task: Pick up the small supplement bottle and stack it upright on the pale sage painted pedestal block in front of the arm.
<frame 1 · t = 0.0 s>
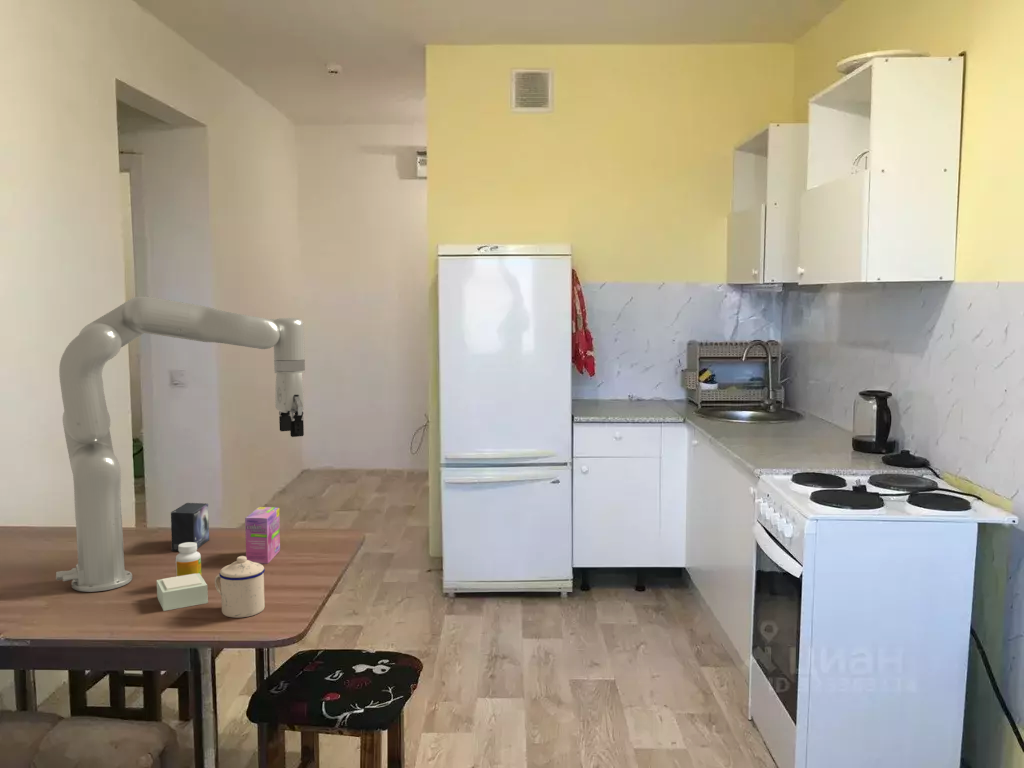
hand: (291, 433, 212), 31 cm above the table, fingers open, 9 cm apart
supplement bottle: (189, 586, 191), on the table
teacup with lid: (238, 610, 176), on the table
pedestal: (182, 600, 181), on the table
small box: (191, 546, 221), on the table
box: (263, 558, 211), on the table
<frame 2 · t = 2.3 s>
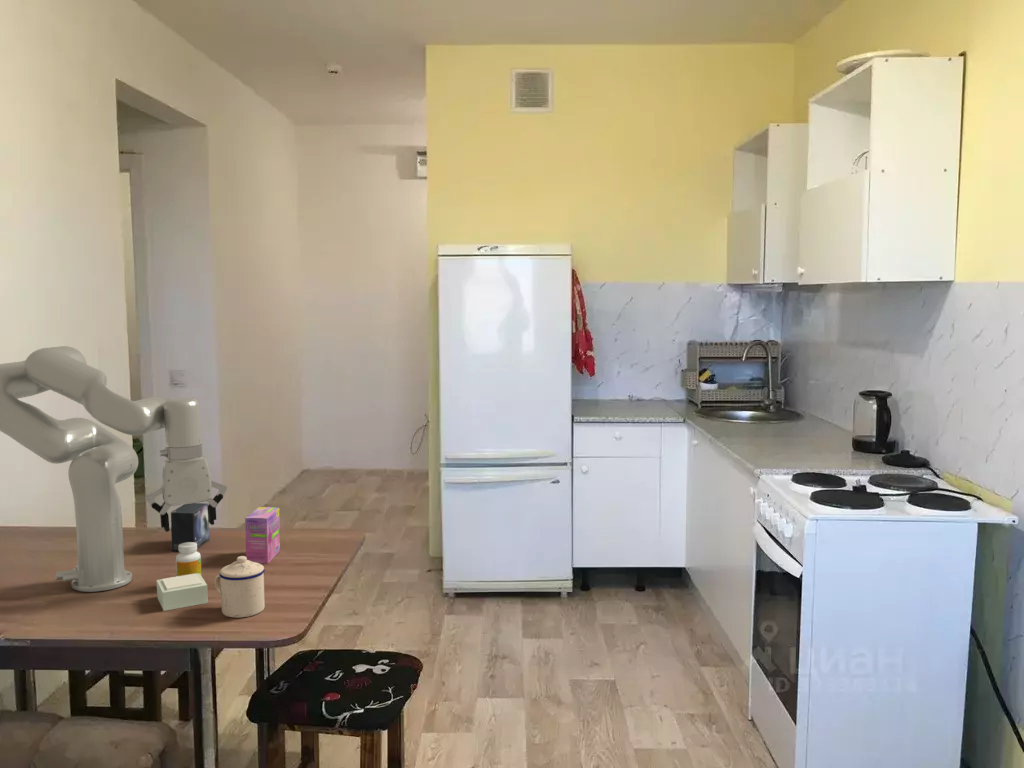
hand: (189, 526, 189), 14 cm above the table, fingers open, 9 cm apart
nothing on the table moved.
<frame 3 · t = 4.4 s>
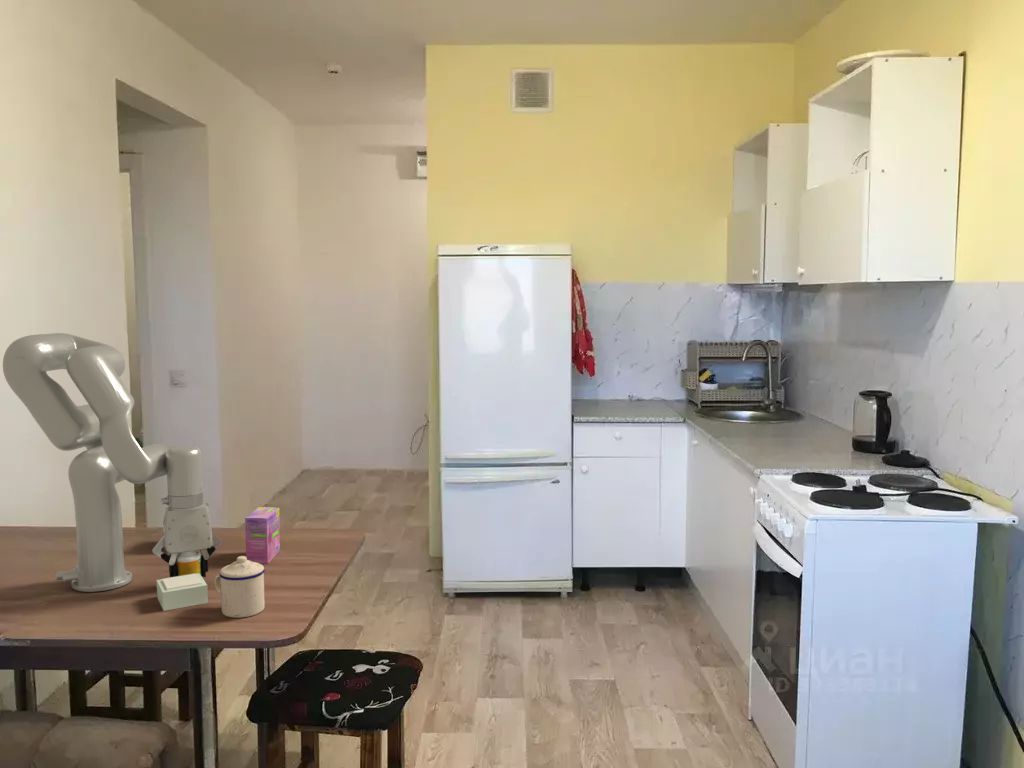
hand: (189, 577, 190), 2 cm above the table, fingers closed on supplement bottle, 5 cm apart
supplement bottle: (189, 586, 191), on the table, touching gripper
everything else where it was.
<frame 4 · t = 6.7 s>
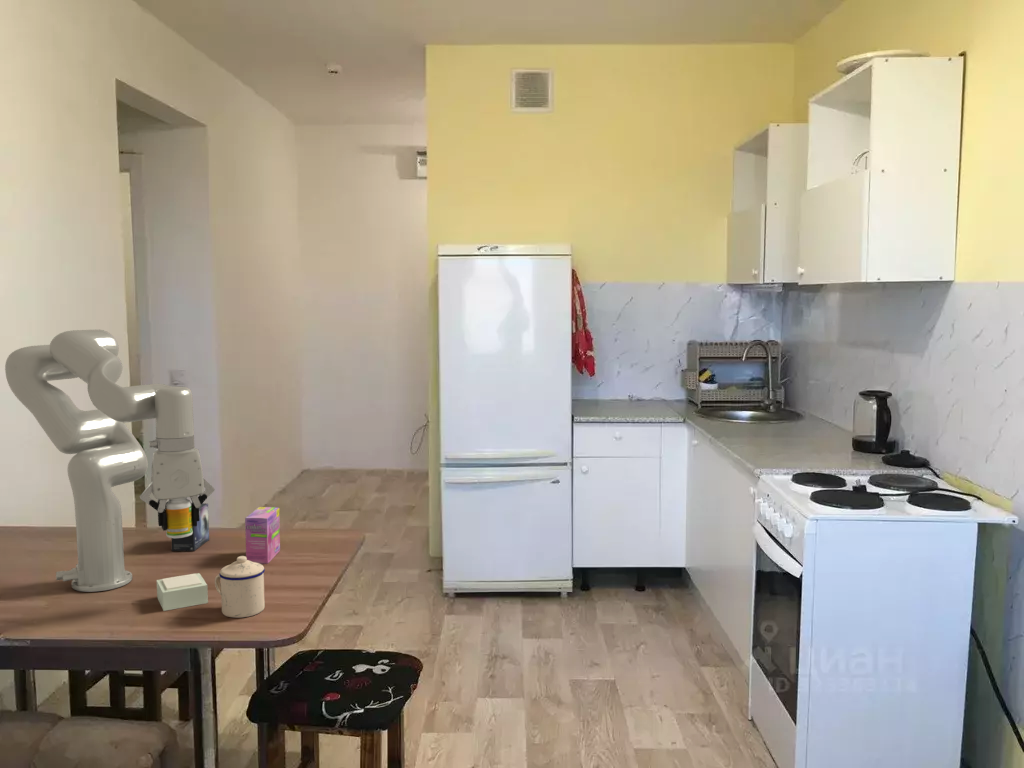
hand: (179, 526, 180), 17 cm above the table, fingers closed on supplement bottle, 5 cm apart
supplement bottle: (179, 536, 180), point 14 cm above the table, touching gripper
everything else where it was.
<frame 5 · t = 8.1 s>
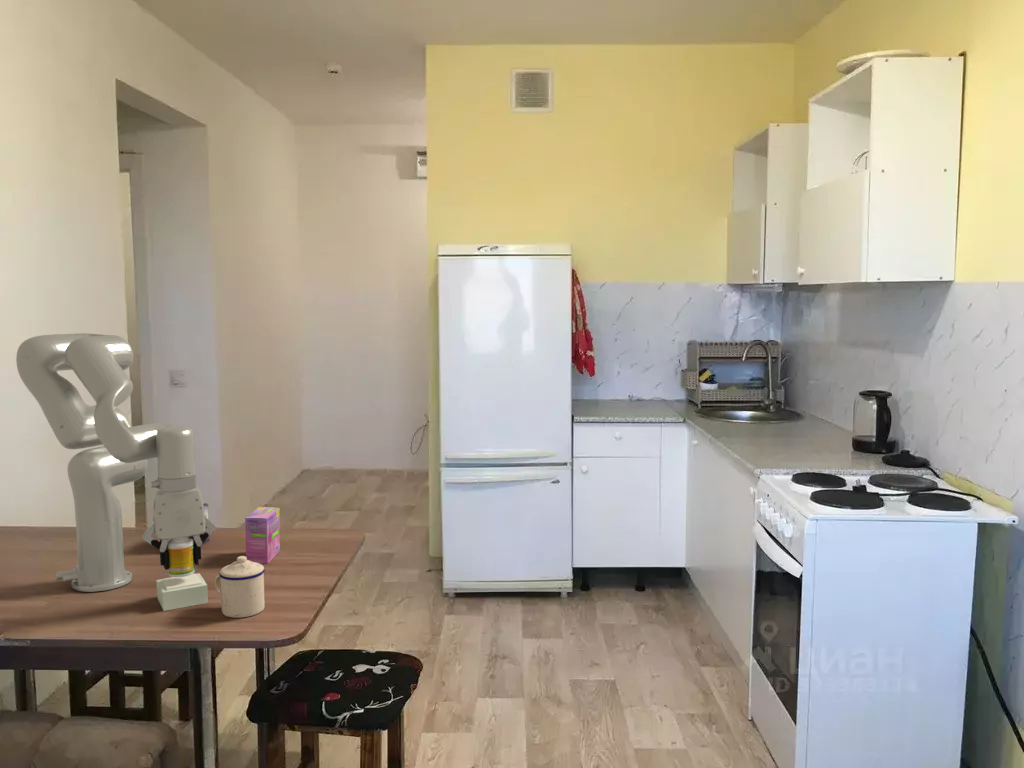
hand: (181, 564, 180), 8 cm above the table, fingers closed on supplement bottle, 5 cm apart
supplement bottle: (181, 574, 181), point 6 cm above the table, touching gripper
everything else where it was.
when the fingers open (7 cm above the table, at t = 9.1 s): supplement bottle stays where it is, resting on pedestal.
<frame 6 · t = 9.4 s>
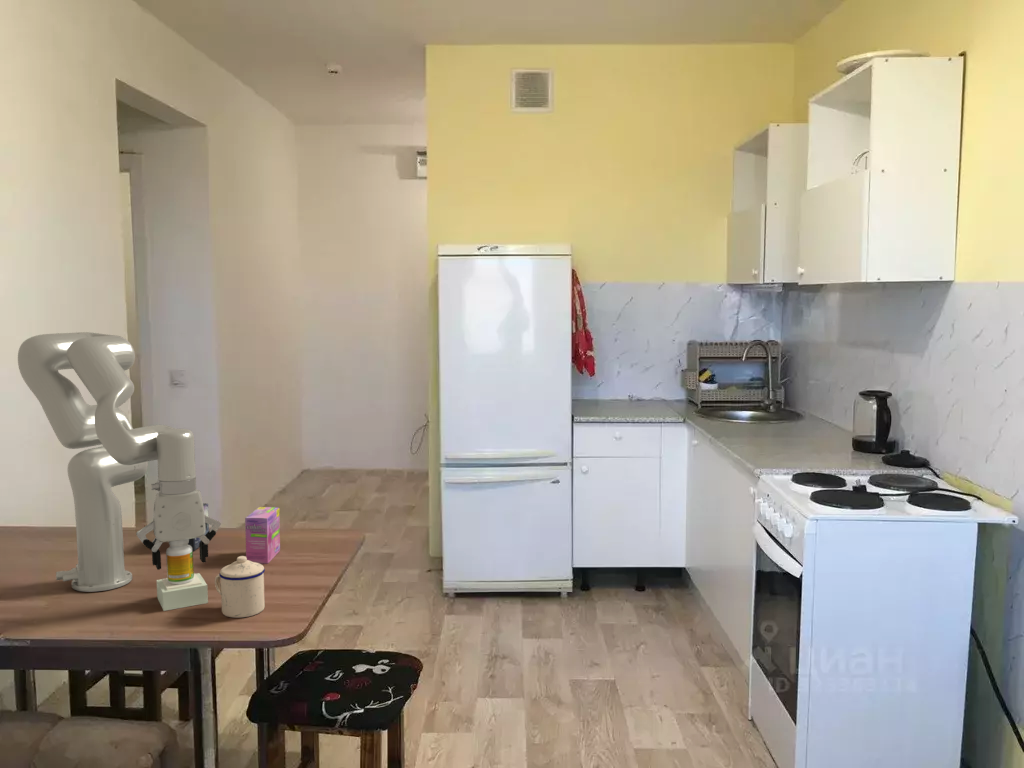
hand: (180, 564, 180), 8 cm above the table, fingers open, 8 cm apart
supplement bottle: (181, 581, 181), point 4 cm above the table, touching pedestal
everything else where it was.
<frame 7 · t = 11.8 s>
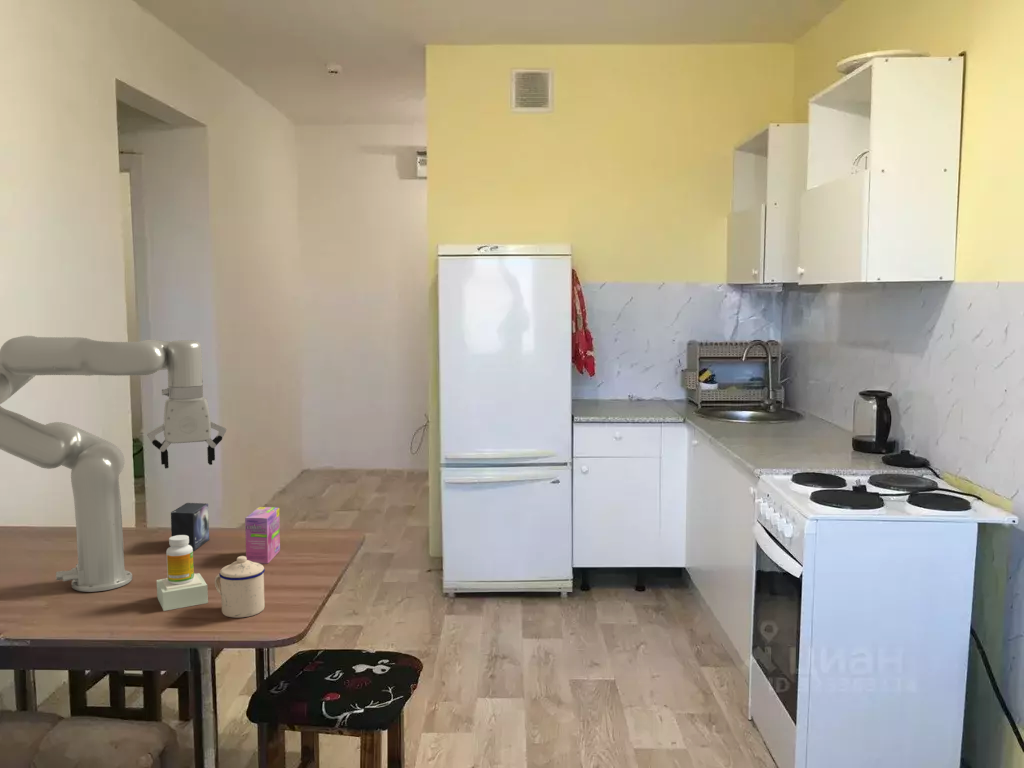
hand: (188, 465, 195), 26 cm above the table, fingers open, 9 cm apart
nothing on the table moved.
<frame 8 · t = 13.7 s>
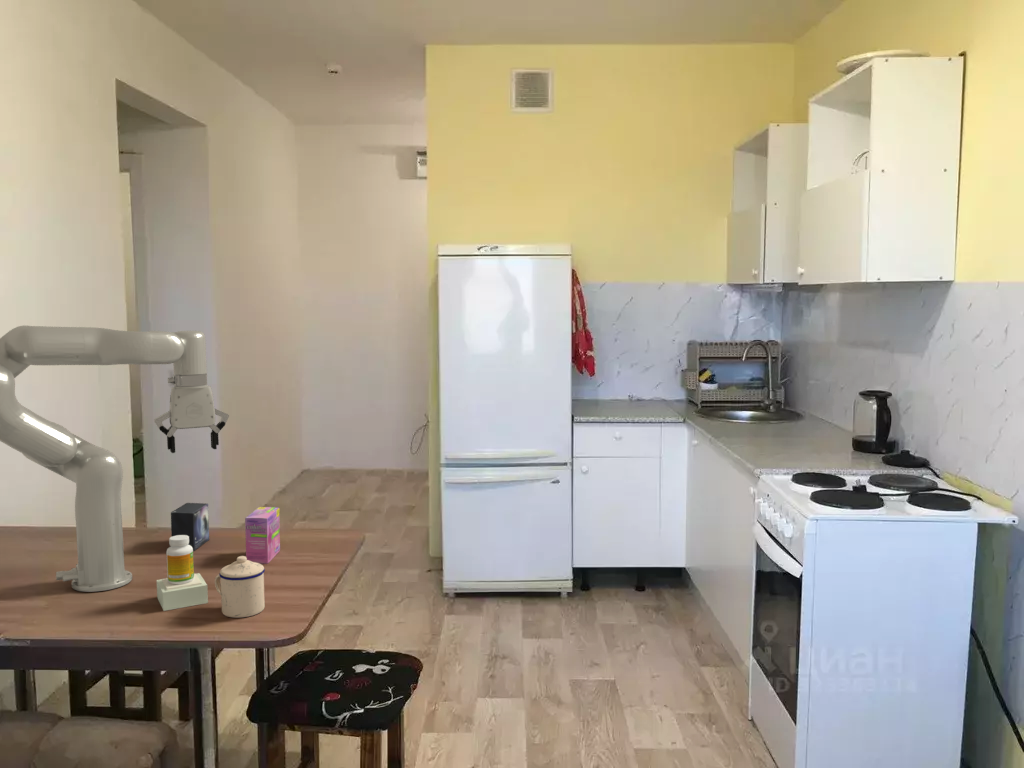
hand: (193, 450, 205), 28 cm above the table, fingers open, 9 cm apart
nothing on the table moved.
at the end: supplement bottle inside the target area on the pedestal (0.1 cm from its centre), point 4.2 cm above the pedestal's base; supplement bottle tilted 0°; the gripper is holding nothing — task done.
